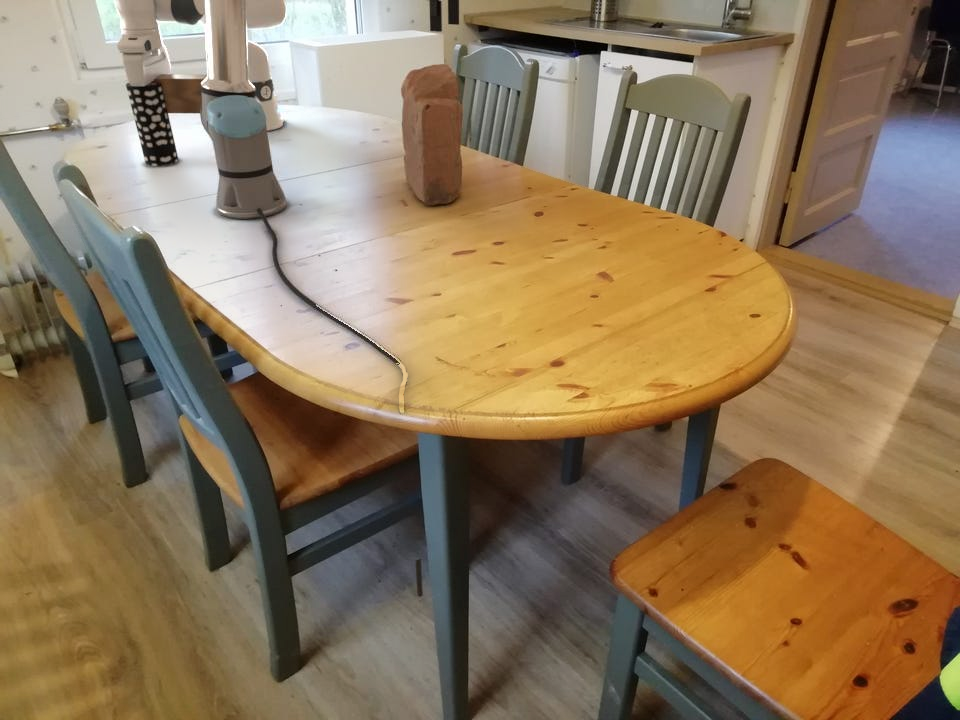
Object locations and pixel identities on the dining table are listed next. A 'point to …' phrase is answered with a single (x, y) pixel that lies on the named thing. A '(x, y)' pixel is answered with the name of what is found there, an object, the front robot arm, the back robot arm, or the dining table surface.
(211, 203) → the dining table surface
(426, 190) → the stone
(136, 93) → the black white spotted cylinder
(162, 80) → the box
